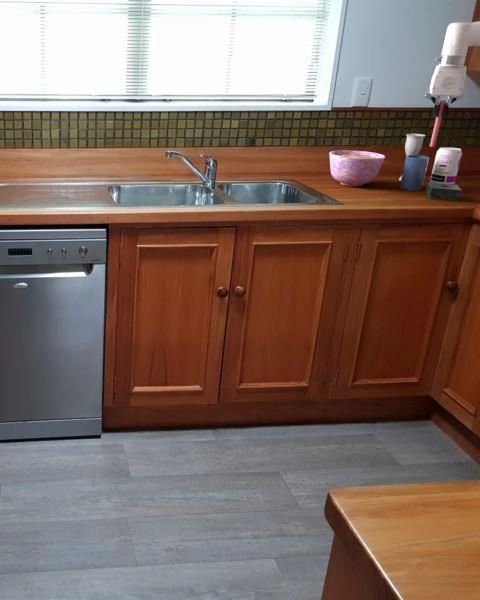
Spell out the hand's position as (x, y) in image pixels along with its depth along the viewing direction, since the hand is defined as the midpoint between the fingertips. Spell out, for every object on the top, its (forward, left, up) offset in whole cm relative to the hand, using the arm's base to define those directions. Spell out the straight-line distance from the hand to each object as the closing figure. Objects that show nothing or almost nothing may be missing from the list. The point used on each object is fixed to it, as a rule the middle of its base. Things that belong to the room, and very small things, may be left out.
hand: (439, 116), depth 217 cm
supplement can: (-8, -10, -27) cm, 30 cm away
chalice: (+3, -22, -27) cm, 35 cm away
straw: (0, 0, -11) cm, 11 cm away
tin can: (+3, -5, -27) cm, 28 cm away
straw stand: (-6, +7, -27) cm, 29 cm away
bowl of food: (+24, -4, -27) cm, 37 cm away
